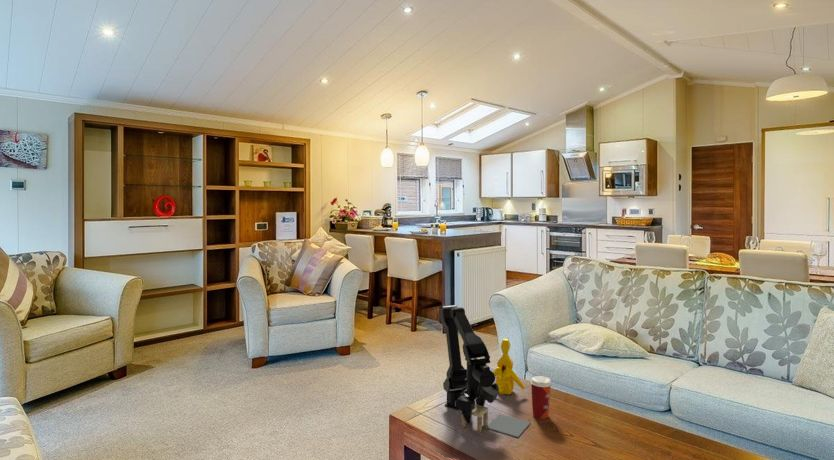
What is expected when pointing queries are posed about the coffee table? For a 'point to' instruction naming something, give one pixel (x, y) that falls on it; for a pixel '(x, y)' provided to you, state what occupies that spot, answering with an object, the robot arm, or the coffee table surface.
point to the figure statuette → (506, 371)
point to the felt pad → (508, 425)
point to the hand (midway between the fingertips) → (474, 418)
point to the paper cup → (540, 396)
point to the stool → (478, 412)
